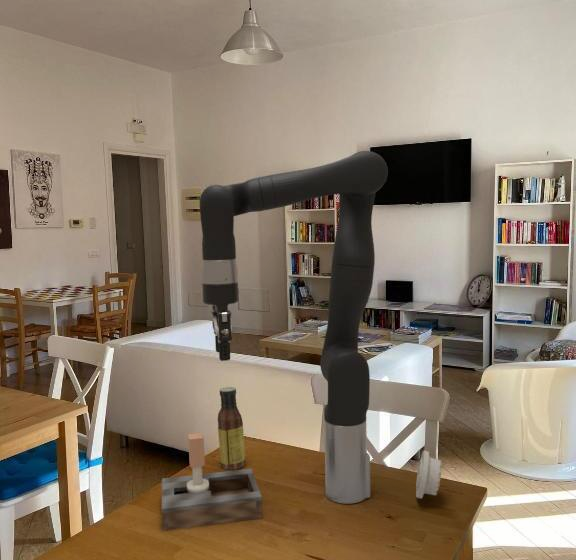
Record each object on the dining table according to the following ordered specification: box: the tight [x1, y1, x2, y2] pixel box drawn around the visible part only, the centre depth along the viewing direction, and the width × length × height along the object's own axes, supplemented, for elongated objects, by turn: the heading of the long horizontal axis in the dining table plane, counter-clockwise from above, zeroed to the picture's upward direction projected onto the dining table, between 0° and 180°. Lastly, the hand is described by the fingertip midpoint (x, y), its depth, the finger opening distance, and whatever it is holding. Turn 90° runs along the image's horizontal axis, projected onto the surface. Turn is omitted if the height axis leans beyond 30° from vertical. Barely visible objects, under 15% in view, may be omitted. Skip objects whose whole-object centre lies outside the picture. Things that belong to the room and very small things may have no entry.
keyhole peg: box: [187, 432, 209, 494], centre depth 120 cm, size 5×5×12 cm
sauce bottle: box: [217, 386, 246, 471], centre depth 141 cm, size 7×6×20 cm
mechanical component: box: [415, 450, 442, 499], centre depth 123 cm, size 10×4×10 cm, turn 168°
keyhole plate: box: [161, 468, 263, 531], centre depth 121 cm, size 20×14×5 cm
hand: (222, 355), depth 122 cm, fingers open, 8 cm apart
